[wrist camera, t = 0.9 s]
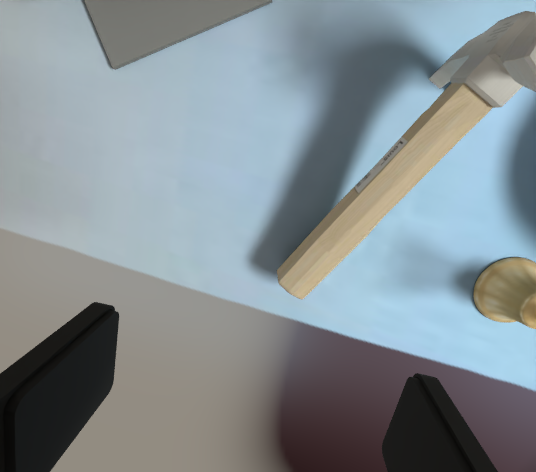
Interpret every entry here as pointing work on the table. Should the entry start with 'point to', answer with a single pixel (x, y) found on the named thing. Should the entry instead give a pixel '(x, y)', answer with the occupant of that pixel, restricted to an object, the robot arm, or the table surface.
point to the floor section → (158, 23)
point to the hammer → (421, 144)
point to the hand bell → (508, 291)
